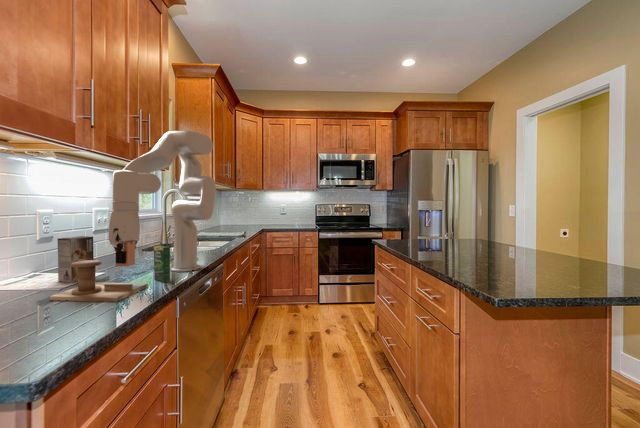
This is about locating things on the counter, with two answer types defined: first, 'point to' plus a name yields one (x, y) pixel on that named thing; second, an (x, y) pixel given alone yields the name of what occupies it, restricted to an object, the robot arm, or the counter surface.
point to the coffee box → (73, 256)
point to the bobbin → (86, 277)
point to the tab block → (129, 254)
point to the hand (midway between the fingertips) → (125, 261)
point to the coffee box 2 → (162, 263)
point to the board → (103, 292)
